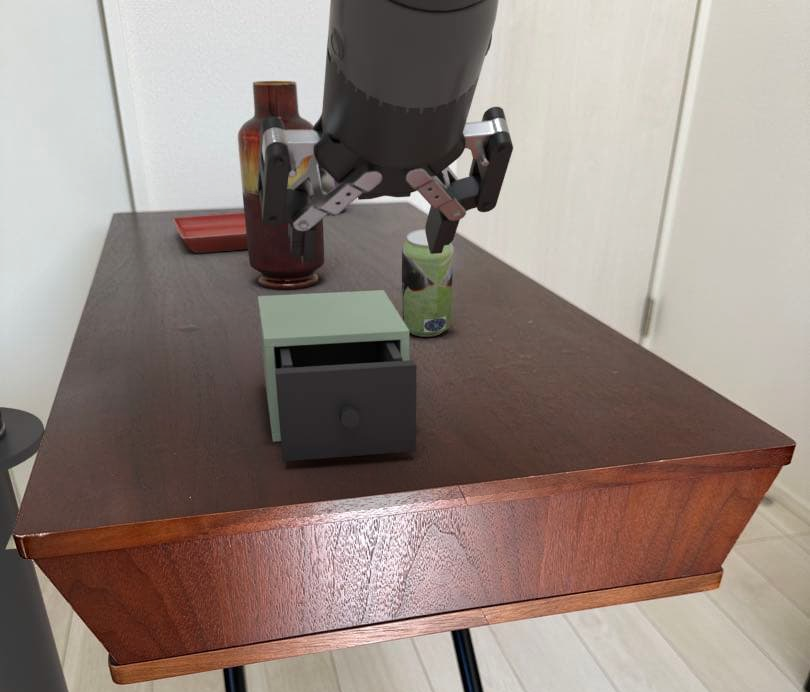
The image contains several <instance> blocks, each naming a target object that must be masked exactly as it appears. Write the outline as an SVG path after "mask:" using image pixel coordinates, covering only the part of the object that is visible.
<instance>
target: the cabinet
mask: <svg viewBox="0 0 810 692" xmlns="http://www.w3.org/2000/svg"><path fill="white" fill-rule="evenodd" d="M257 303H258V316H259V324H260V327H259V328H260V335H261V336H260V338H261V348H262V361H263V372H264V382H265V391H266V399H267V407H268V415H269V423H270V431H271V439H272V442H273V443H277V442H281V435H280V423H279V411H278V399H277V387H276V374H275V369H279V359H278V347H283V346H300V345H317V344H335V343H352V342H369V341H386V340H393V342H394V344H395V345H396V347H397V349H398V351H399V352H400V354H401V356H402V358H403V361H408V360H410V332H409V329H408V328H407V326H406V325H405V323H404V321H403V320H402V316H401V315H400V314H399V312H398V310H397V309H396V307H395V305H394V304H393V302H392V300H391V299H390V297H389V296H388V294H387V293H386V291H385V289H376V290H360V291H359V290H357V291H339V292H338V291H337V292H315V293H297V294H295V293H293V294H277V295H276V294H275V295H258V296H257Z"/></svg>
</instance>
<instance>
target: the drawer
mask: <svg viewBox="0 0 810 692" xmlns="http://www.w3.org/2000/svg"><path fill="white" fill-rule="evenodd" d="M278 359H279V369H275V374H276V387H277V399H278V411H279V423H280V435H281V441H280V447H281V458H282V462H284V463H285V462H299V461H308V460H309V461H310V460H321V459H322V460H324V459H337V458H346V457H362V456H375V455H385V454H386V455H387V454H399V453H409V452H410V453H412V452H416V451H417V363H416V362H415V360H413V359H411V360H410V359H409V360H408V361H403V358H402V356H401V354H400V352H399V351H398V349H397V347H396V345H395V344H394V342H393V340H386V341H369V342H352V343H335V344H317V345H300V346H283V347H278Z"/></svg>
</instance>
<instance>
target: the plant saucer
mask: <svg viewBox="0 0 810 692" xmlns="http://www.w3.org/2000/svg"><path fill="white" fill-rule="evenodd" d="M172 221H173V224H174V226H175V227H176V229H177V231H178V233H179V235H180V237H181V239H182V240H183V242H184V243H185V244H186V246H188V248H189V249H190V250H191V251H192V252H193V253H195V254H208V253H219V252H230V251H243V250H248V245H247V235H246V225H245V214H244V212H235V213H220V214H205V215H192V216H191V215H190V216H180V217H179V216H178V217H173V218H172Z"/></svg>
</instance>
